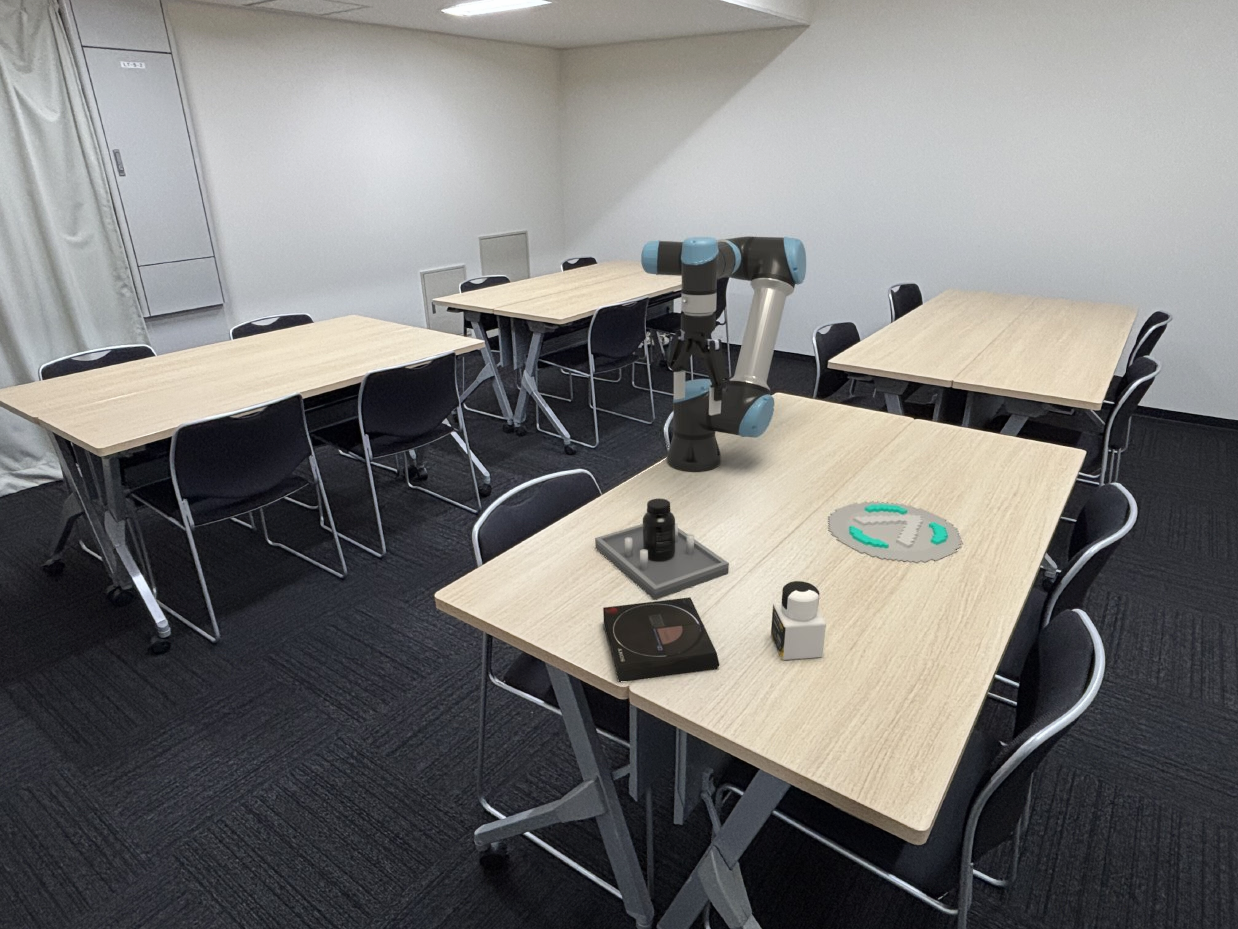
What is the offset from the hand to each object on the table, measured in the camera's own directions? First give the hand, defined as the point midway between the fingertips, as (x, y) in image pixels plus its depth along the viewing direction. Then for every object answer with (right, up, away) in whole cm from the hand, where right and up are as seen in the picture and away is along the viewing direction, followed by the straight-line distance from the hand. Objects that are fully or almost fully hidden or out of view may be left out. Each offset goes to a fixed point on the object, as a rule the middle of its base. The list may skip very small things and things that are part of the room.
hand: (696, 406), depth 162 cm
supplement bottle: (-9, -33, -11) cm, 36 cm away
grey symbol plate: (+45, -29, 0) cm, 53 cm away
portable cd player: (-11, -46, -37) cm, 60 cm away
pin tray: (-9, -34, -11) cm, 37 cm away
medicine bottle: (+13, -45, -38) cm, 61 cm away
